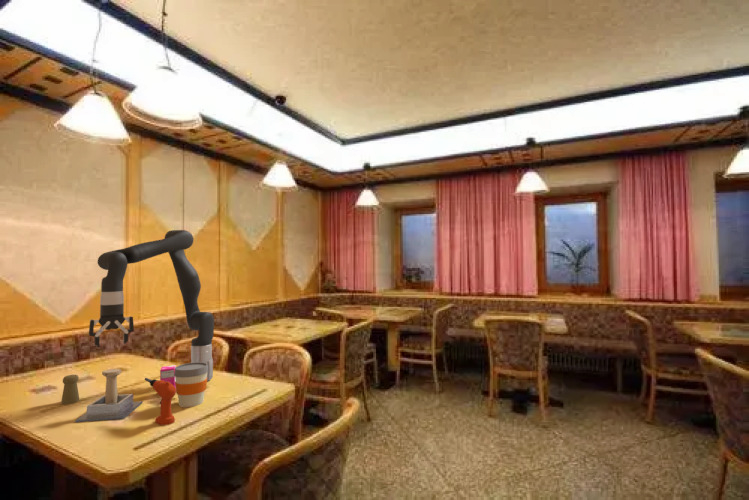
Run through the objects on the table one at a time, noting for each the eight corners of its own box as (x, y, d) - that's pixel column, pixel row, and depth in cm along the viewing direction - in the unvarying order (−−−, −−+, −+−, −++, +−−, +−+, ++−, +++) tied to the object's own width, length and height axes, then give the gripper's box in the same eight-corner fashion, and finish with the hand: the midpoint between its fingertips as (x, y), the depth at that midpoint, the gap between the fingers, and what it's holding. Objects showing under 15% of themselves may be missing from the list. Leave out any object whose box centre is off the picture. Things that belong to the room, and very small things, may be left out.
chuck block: (142, 403, 155) (142, 391, 155) (123, 418, 139) (123, 405, 139) (99, 406, 152) (99, 394, 152) (75, 422, 136) (75, 409, 136)
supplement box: (161, 392, 168) (161, 366, 168) (176, 390, 170) (176, 364, 171) (159, 396, 163) (160, 369, 163) (175, 394, 165) (175, 367, 165)
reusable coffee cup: (173, 411, 146) (174, 372, 146) (174, 401, 157) (174, 364, 157) (209, 405, 151) (209, 367, 152) (207, 395, 162) (207, 360, 163)
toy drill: (149, 407, 146) (152, 369, 145) (177, 423, 136) (181, 383, 136) (136, 412, 141) (139, 372, 141) (164, 429, 132) (167, 386, 131)
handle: (112, 412, 143) (113, 372, 143) (98, 411, 144) (99, 372, 144) (123, 408, 147) (123, 369, 148) (109, 407, 149) (110, 368, 149)
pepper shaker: (83, 400, 159) (83, 373, 160) (67, 405, 153) (67, 377, 154) (73, 398, 161) (73, 372, 162) (57, 403, 155) (57, 376, 156)
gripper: (89, 305, 139) (89, 349, 139) (135, 302, 149) (134, 343, 148) (88, 303, 145) (88, 346, 145) (132, 301, 154) (131, 340, 154)
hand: (111, 344), depth 146 cm, fingers open, 8 cm apart
